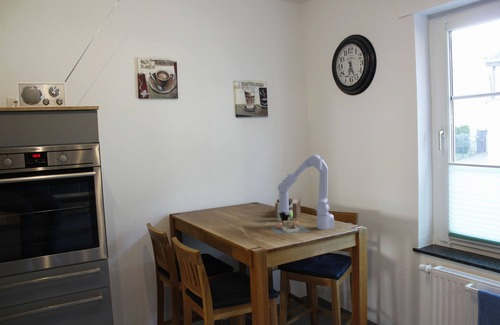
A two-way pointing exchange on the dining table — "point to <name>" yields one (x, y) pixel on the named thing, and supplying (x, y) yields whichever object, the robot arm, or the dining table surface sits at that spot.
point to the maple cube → (287, 224)
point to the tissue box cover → (295, 207)
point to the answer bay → (291, 229)
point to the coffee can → (289, 211)
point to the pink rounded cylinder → (295, 224)
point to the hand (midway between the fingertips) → (284, 224)
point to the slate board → (302, 229)
